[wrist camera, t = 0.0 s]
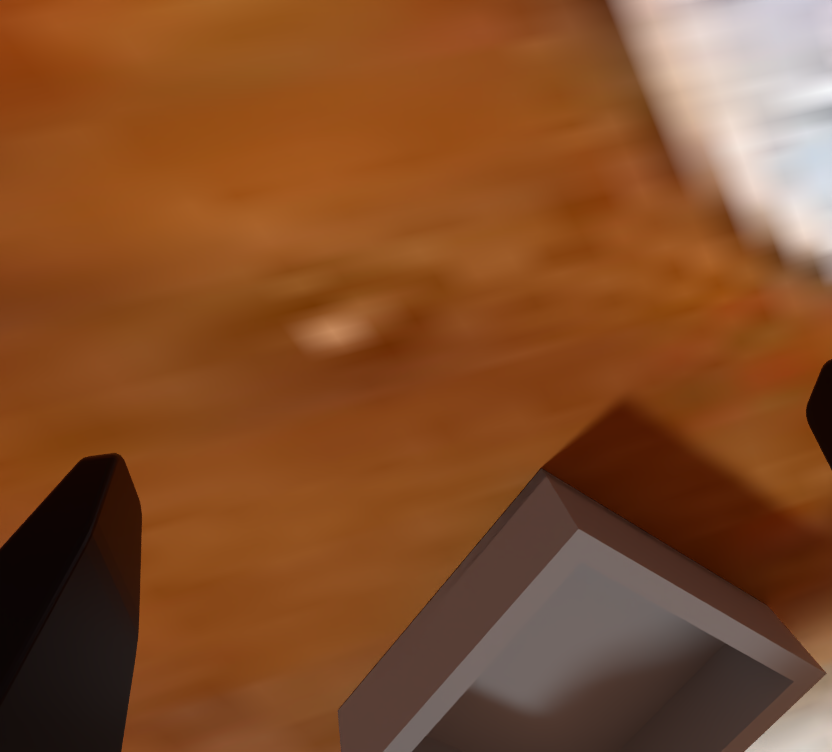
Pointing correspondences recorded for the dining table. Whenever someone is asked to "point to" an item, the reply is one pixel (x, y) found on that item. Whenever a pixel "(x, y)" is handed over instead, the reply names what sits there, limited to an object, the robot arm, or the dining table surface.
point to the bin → (579, 647)
